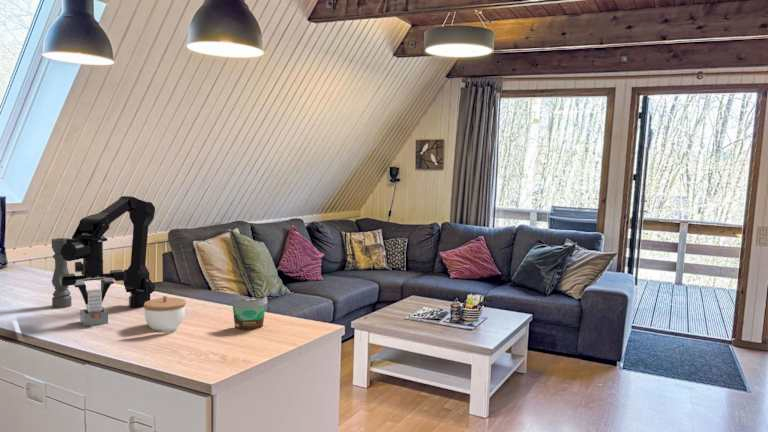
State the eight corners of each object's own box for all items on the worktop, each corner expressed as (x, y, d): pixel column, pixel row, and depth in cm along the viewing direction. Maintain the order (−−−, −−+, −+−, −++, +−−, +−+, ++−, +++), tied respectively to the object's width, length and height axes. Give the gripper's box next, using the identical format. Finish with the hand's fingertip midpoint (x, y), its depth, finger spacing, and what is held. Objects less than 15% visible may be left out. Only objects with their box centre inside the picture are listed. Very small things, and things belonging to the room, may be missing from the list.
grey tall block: (100, 320, 184) (99, 289, 183) (102, 323, 180) (102, 291, 180) (85, 321, 181) (85, 290, 181) (88, 325, 178) (87, 293, 177)
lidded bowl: (144, 325, 183) (143, 293, 182) (184, 322, 188) (184, 290, 187) (144, 337, 171) (143, 302, 170) (186, 333, 176) (186, 299, 175)
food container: (234, 332, 178) (234, 302, 177) (230, 327, 184) (230, 298, 183) (271, 328, 184) (272, 299, 183) (266, 323, 189) (267, 295, 189)
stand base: (112, 317, 191) (112, 303, 191) (122, 327, 180) (122, 312, 179) (66, 323, 182) (66, 309, 182) (73, 334, 171) (73, 318, 171)
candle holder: (48, 306, 202) (46, 239, 200) (63, 303, 208) (62, 237, 206) (60, 309, 200) (58, 240, 198) (75, 305, 206) (74, 238, 204)
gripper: (118, 250, 191) (119, 295, 193) (56, 254, 180) (57, 301, 181) (126, 255, 182) (126, 301, 184) (61, 259, 171) (62, 309, 172)
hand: (93, 303), depth 181 cm, fingers closed on grey tall block, 4 cm apart
